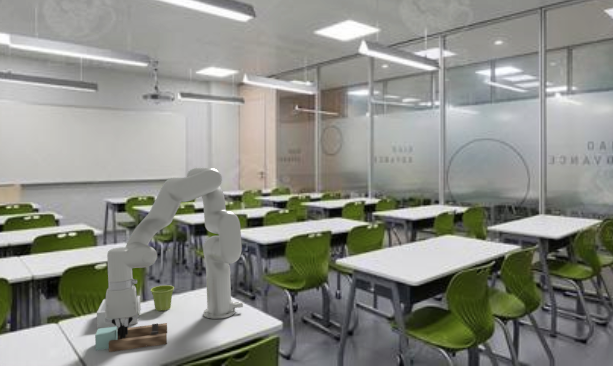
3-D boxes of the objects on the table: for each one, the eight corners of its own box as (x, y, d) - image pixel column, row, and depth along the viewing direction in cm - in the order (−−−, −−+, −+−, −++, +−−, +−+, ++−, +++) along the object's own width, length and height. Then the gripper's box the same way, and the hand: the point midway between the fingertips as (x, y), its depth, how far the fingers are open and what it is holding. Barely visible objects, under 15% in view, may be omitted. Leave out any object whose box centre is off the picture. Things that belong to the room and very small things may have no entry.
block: (117, 340, 148) (117, 326, 147) (115, 347, 142) (114, 333, 142) (98, 342, 146) (98, 328, 146) (95, 350, 140) (95, 335, 140)
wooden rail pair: (167, 330, 155) (166, 320, 155) (166, 344, 144) (166, 332, 144) (113, 337, 150) (113, 326, 149) (109, 352, 139) (108, 340, 138)
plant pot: (164, 303, 185) (163, 283, 184) (179, 307, 180) (178, 287, 180) (146, 310, 177) (145, 289, 176) (161, 314, 172) (161, 293, 172)
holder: (140, 309, 178) (140, 295, 177) (137, 323, 162) (136, 308, 162) (104, 313, 174) (103, 299, 173) (97, 328, 158) (96, 312, 158)
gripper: (144, 279, 150) (146, 329, 151) (98, 283, 145) (100, 335, 146) (143, 285, 143) (145, 338, 144) (94, 290, 138) (97, 344, 139)
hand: (123, 336), depth 145 cm, fingers closed
